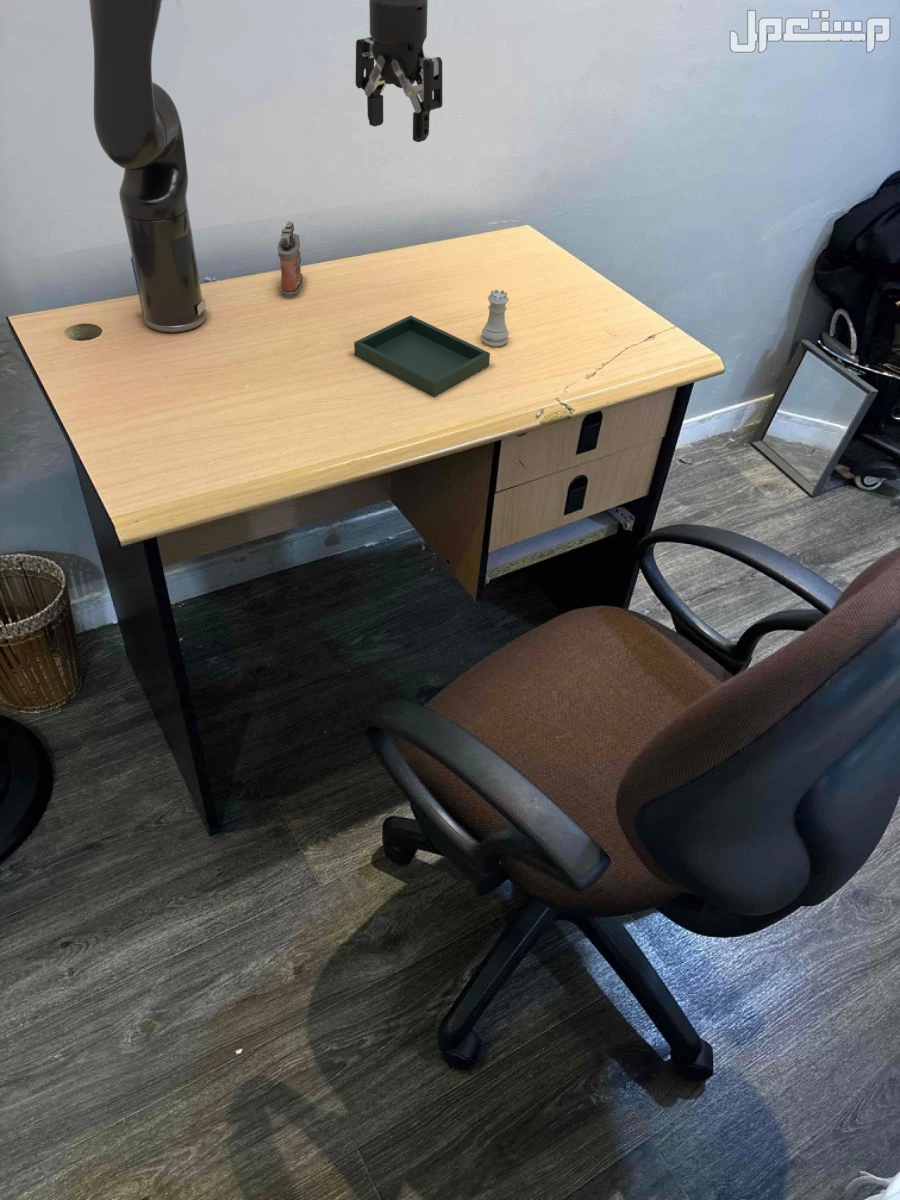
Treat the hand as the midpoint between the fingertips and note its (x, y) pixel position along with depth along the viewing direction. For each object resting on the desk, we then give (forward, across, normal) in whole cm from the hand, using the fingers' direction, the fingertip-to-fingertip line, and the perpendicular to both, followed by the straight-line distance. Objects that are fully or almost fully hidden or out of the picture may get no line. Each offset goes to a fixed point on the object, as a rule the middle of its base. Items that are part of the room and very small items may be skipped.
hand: (397, 132), depth 124 cm
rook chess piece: (+28, +16, +6) cm, 33 cm away
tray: (+28, +12, -7) cm, 31 cm away
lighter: (+28, -20, -5) cm, 35 cm away
